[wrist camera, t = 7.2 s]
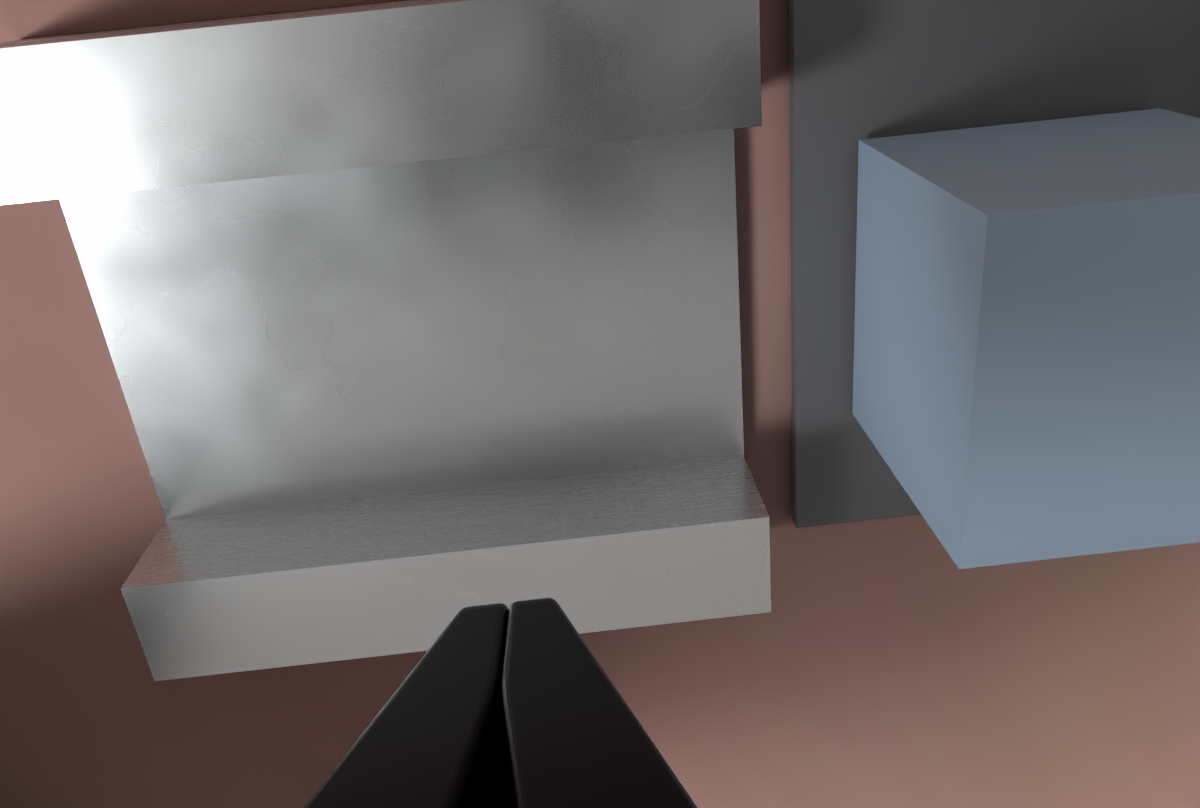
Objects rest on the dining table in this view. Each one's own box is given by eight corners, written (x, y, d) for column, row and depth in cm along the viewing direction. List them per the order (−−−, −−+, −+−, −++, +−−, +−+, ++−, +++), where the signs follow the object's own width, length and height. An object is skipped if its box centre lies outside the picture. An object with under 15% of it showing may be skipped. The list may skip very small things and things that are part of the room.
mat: (793, 519, 19) (812, 562, 18) (789, -22, 15) (813, -18, 14) (1233, 470, 20) (1285, 509, 18) (1352, -79, 15) (1431, -82, 14)
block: (852, 413, 18) (959, 568, 13) (858, 139, 16) (987, 215, 11) (1118, 384, 18) (1312, 530, 14) (1159, 108, 16) (1406, 171, 11)
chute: (199, 596, 19) (154, 681, 17) (16, 40, 15) (-77, 56, 13) (743, 535, 20) (771, 612, 17) (725, -33, 15) (758, -29, 13)
